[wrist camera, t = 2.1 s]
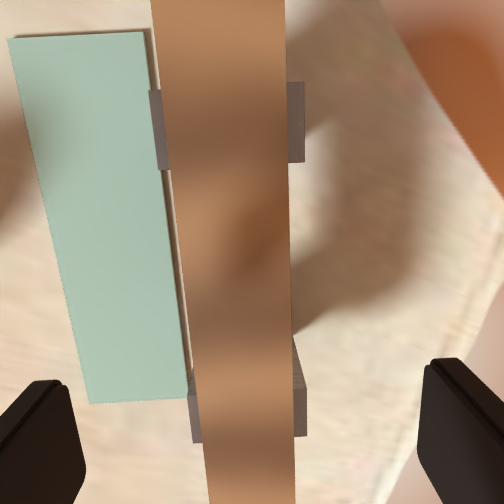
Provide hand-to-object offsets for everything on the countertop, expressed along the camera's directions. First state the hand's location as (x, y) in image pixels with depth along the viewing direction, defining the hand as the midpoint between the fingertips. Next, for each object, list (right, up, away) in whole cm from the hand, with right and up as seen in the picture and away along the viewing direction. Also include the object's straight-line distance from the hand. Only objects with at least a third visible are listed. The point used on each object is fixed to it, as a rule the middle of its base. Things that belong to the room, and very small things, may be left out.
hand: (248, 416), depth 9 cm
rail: (0, +3, +8) cm, 9 cm away
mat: (-10, +5, +16) cm, 19 cm away
